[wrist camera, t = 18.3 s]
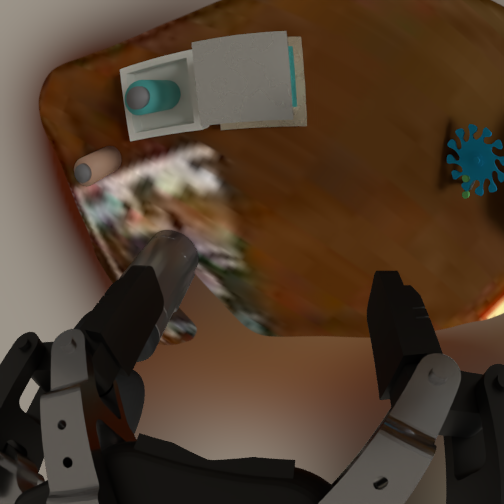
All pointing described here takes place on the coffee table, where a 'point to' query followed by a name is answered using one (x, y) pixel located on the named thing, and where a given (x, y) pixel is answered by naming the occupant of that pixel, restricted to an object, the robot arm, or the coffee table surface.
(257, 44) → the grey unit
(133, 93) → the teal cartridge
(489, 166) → the gear
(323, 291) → the coffee table surface
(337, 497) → the robot arm
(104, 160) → the beige cylinder
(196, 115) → the tray
